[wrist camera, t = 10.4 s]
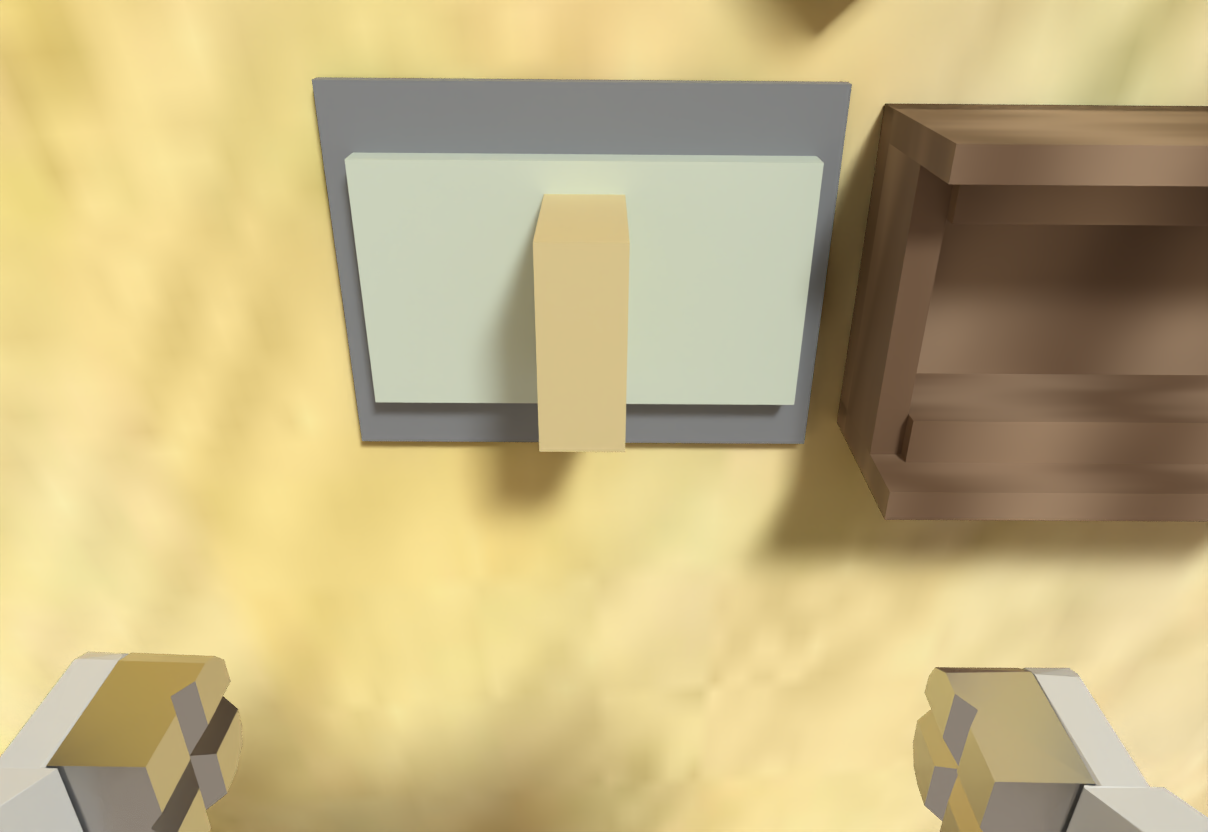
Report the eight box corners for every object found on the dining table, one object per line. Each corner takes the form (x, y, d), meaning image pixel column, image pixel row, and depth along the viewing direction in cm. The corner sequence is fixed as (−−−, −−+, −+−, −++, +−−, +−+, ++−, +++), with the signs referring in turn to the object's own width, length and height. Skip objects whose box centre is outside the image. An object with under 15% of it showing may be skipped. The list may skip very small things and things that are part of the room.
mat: (847, 81, 22) (851, 84, 21) (801, 437, 26) (804, 443, 26) (316, 77, 22) (312, 79, 21) (365, 434, 26) (362, 441, 26)
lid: (816, 155, 22) (867, 206, 18) (788, 392, 25) (826, 482, 21) (352, 152, 22) (293, 202, 18) (382, 389, 25) (337, 479, 21)
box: (1446, 108, 22) (1658, 149, 18) (1307, 425, 26) (1450, 522, 22) (885, 103, 22) (956, 143, 17) (837, 422, 26) (884, 519, 22)
